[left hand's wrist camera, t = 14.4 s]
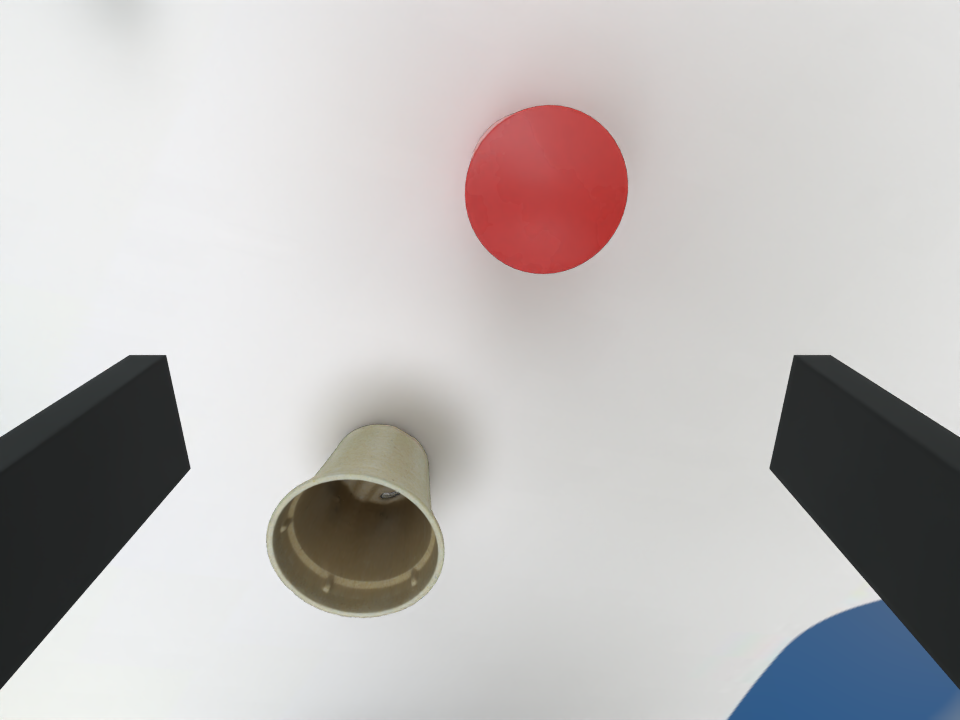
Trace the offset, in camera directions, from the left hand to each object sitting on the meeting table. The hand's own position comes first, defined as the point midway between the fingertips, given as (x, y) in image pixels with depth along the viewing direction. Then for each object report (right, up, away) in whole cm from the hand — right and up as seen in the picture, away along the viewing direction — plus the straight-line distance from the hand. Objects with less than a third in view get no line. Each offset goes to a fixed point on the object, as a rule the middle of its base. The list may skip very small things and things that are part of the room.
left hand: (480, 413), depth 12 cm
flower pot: (-7, -6, +26) cm, 28 cm away
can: (+3, +11, +19) cm, 23 cm away
